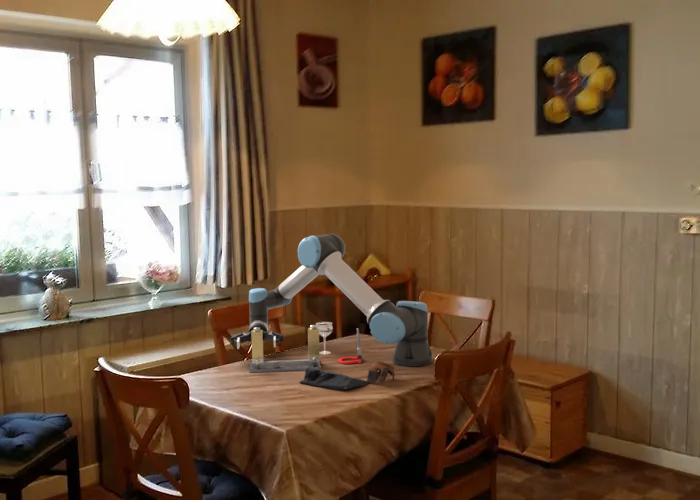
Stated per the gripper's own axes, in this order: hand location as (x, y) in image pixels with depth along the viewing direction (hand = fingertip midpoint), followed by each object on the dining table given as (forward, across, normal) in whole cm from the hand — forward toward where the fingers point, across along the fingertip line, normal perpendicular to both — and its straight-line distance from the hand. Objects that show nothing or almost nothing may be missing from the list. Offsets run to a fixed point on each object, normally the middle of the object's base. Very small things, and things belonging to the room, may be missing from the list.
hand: (256, 344), depth 282 cm
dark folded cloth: (+24, -27, -10) cm, 37 cm away
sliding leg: (+2, 0, -7) cm, 7 cm away
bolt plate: (0, -10, -9) cm, 14 cm away
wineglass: (-18, -26, -9) cm, 33 cm away
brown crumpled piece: (+25, -44, -9) cm, 51 cm away
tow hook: (-3, -35, -9) cm, 36 cm away
